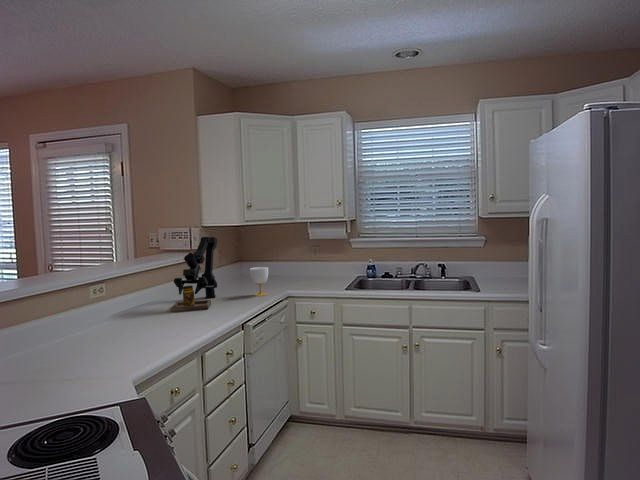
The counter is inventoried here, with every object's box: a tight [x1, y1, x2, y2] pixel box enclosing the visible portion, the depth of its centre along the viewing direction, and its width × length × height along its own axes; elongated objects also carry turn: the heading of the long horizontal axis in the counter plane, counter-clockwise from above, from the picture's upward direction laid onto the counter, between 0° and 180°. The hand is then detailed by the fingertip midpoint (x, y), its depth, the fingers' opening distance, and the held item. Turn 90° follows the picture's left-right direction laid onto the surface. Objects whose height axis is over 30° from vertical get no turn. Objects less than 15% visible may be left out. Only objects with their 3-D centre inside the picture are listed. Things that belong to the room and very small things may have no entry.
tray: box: [170, 299, 212, 313], centre depth 267 cm, size 16×20×2 cm
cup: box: [249, 266, 269, 297], centre depth 297 cm, size 12×12×17 cm
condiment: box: [182, 285, 197, 307], centre depth 266 cm, size 7×8×12 cm
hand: (187, 294), depth 264 cm, fingers open, 9 cm apart
